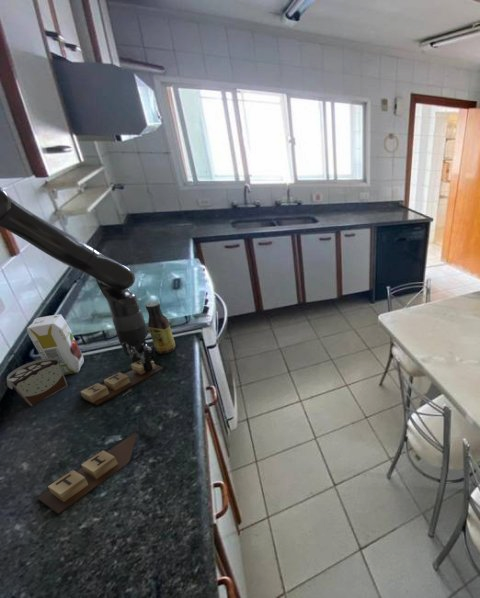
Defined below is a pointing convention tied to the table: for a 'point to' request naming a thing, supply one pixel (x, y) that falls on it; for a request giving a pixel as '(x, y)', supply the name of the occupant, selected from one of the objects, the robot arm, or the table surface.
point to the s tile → (140, 366)
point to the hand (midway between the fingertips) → (143, 368)
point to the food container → (37, 380)
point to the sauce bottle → (160, 329)
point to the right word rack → (115, 386)
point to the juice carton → (56, 342)
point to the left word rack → (87, 476)
